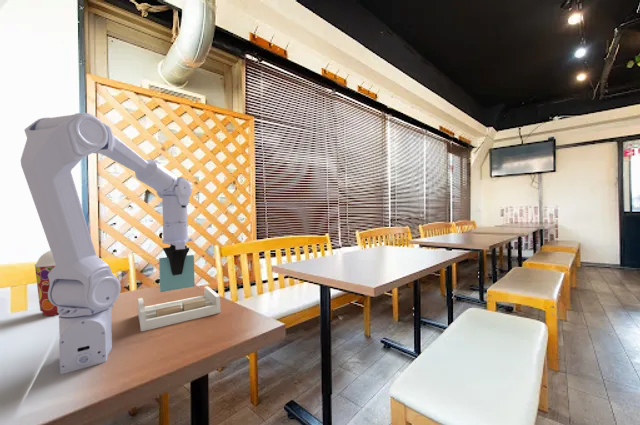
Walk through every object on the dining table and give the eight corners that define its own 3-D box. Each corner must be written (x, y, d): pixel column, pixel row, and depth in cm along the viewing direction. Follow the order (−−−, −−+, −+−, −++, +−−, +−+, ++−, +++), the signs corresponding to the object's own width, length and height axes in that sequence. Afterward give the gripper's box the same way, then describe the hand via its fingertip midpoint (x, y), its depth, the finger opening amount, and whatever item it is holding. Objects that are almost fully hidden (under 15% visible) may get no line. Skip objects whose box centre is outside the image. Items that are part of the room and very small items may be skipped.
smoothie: (72, 304, 80) (70, 237, 79) (83, 309, 75) (81, 238, 75) (31, 314, 72) (29, 240, 72) (41, 320, 68) (39, 241, 68)
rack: (220, 315, 69) (220, 296, 69) (141, 335, 59) (140, 312, 59) (208, 303, 78) (208, 286, 78) (138, 318, 68) (137, 298, 68)
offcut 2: (205, 313, 68) (205, 300, 68) (184, 318, 65) (183, 304, 65) (203, 311, 70) (203, 298, 70) (182, 316, 67) (182, 302, 67)
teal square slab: (194, 286, 73) (193, 255, 73) (160, 292, 68) (159, 258, 68) (193, 285, 74) (192, 254, 74) (159, 290, 69) (159, 258, 69)
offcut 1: (181, 319, 65) (181, 307, 65) (157, 325, 62) (157, 312, 62) (179, 317, 66) (179, 304, 66) (156, 322, 63) (156, 309, 63)
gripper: (197, 222, 67) (199, 276, 68) (186, 221, 79) (187, 267, 79) (165, 224, 63) (167, 281, 63) (158, 222, 75) (160, 271, 75)
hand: (176, 273), depth 71 cm, fingers closed on teal square slab, 2 cm apart
